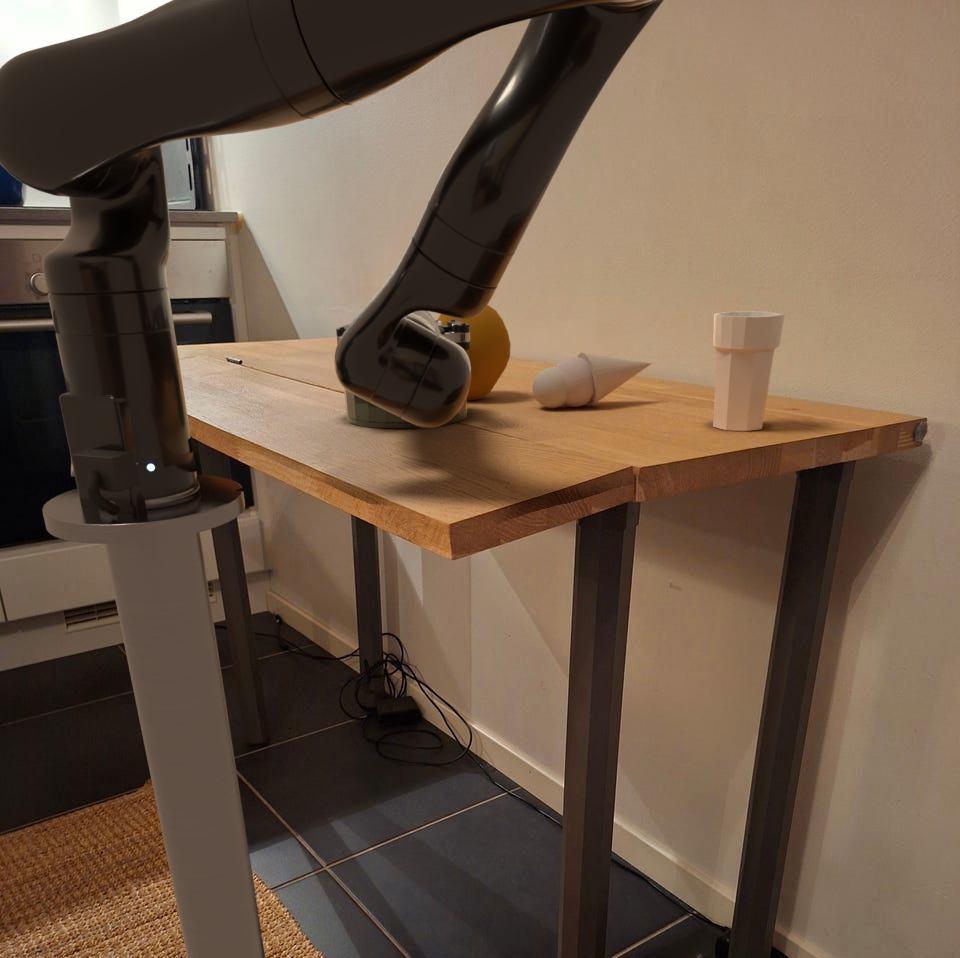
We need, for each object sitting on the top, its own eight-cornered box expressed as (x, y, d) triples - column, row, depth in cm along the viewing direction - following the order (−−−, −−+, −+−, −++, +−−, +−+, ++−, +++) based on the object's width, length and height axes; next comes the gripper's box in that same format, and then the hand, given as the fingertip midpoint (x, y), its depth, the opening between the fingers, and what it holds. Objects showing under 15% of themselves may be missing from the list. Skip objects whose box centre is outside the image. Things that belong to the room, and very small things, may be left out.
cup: (693, 427, 94) (702, 315, 89) (724, 417, 98) (734, 310, 94) (752, 435, 90) (765, 318, 85) (782, 424, 94) (795, 313, 90)
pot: (436, 431, 94) (433, 362, 92) (324, 424, 99) (318, 358, 96) (485, 409, 106) (484, 347, 103) (382, 404, 111) (378, 344, 108)
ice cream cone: (657, 399, 108) (540, 429, 106) (637, 362, 111) (522, 390, 108) (668, 363, 103) (545, 394, 100) (647, 325, 105) (526, 354, 103)
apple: (525, 396, 114) (526, 297, 109) (475, 407, 107) (472, 302, 103) (468, 389, 120) (466, 295, 115) (417, 399, 113) (412, 299, 108)
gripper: (478, 302, 85) (466, 292, 100) (324, 307, 84) (336, 296, 99) (480, 384, 88) (468, 362, 103) (331, 389, 87) (342, 367, 102)
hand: (403, 330), depth 101 cm, fingers closed on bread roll, 5 cm apart
